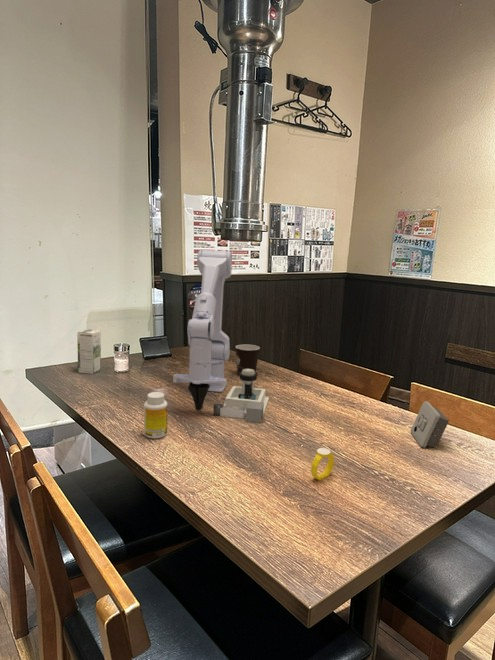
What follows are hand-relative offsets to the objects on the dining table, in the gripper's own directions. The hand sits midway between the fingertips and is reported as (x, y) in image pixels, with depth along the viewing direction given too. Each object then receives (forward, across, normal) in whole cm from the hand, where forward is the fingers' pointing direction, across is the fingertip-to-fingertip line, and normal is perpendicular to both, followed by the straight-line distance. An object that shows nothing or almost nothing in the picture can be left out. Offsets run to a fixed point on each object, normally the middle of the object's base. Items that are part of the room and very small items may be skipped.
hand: (199, 408), depth 120 cm
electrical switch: (+1, +60, -2) cm, 60 cm away
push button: (+1, +12, +10) cm, 16 cm away
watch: (+1, +34, -26) cm, 42 cm away
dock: (+1, +12, +7) cm, 13 cm away
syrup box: (+1, -46, +25) cm, 53 cm away
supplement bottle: (+1, -6, -16) cm, 17 cm away
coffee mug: (+1, +6, +40) cm, 41 cm away
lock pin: (+1, +9, 0) cm, 9 cm away
